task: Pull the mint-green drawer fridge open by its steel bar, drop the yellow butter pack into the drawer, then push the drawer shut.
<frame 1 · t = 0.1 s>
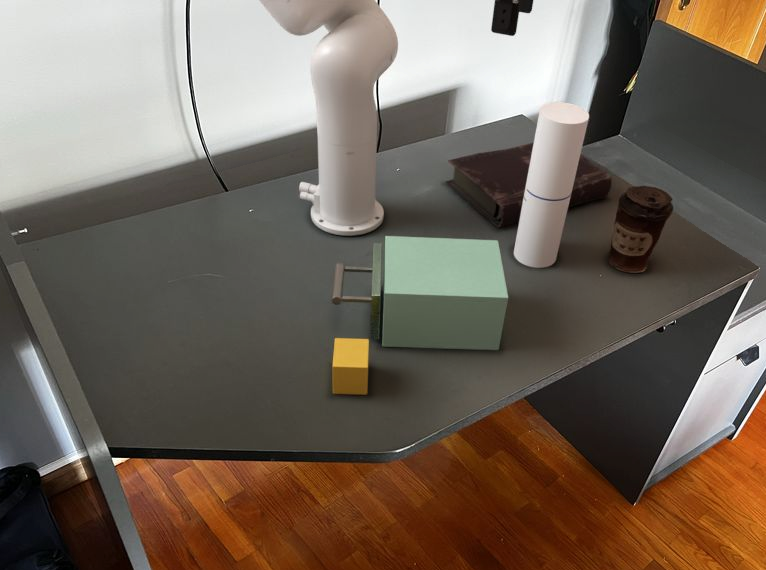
hand: (511, 22, 99), 37 cm above the table, tool pointing down, fingers open, 9 cm apart
fridge: (438, 317, 110), on the table
fridge drawer: (406, 291, 106), point 5 cm above the table, slide at 0.5 cm
diary: (525, 192, 139), on the table
cylindrical container: (534, 256, 124), on the table
coffee cup: (627, 264, 124), on the table
butter pack: (351, 379, 99), on the table
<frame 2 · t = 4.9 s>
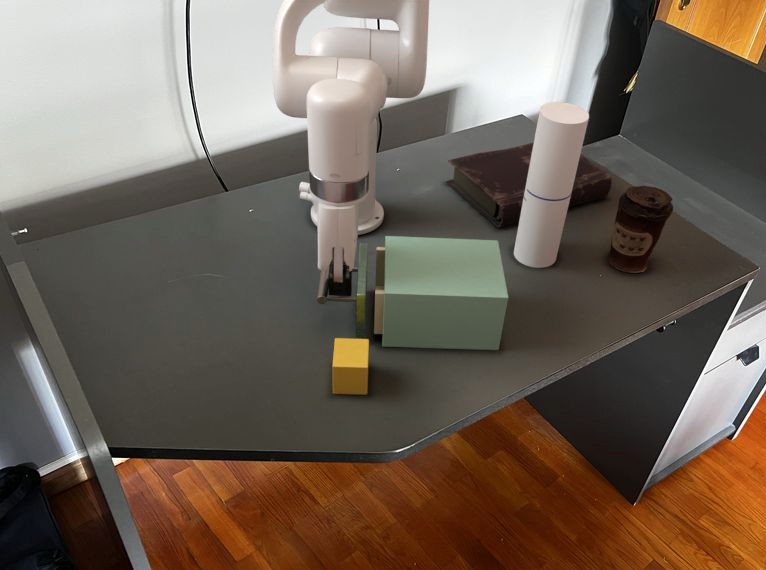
hand: (340, 295, 106), 4 cm above the table, tool pointing down, fingers closed
fridge drawer: (392, 290, 106), point 5 cm above the table, slide at 2.5 cm, touching gripper
everything else where it was.
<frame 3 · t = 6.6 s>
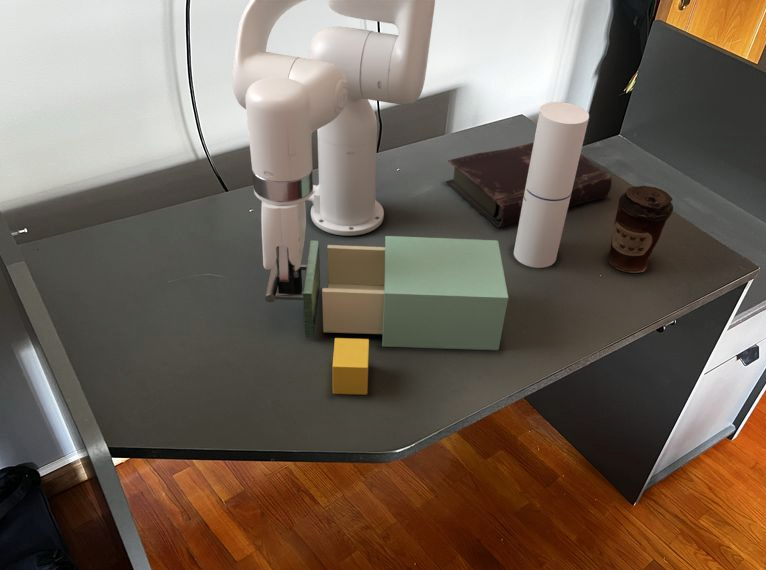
hand: (290, 294, 106), 4 cm above the table, tool pointing down, fingers closed
fridge drawer: (343, 288, 106), point 5 cm above the table, slide at 9.6 cm
everything else where it was.
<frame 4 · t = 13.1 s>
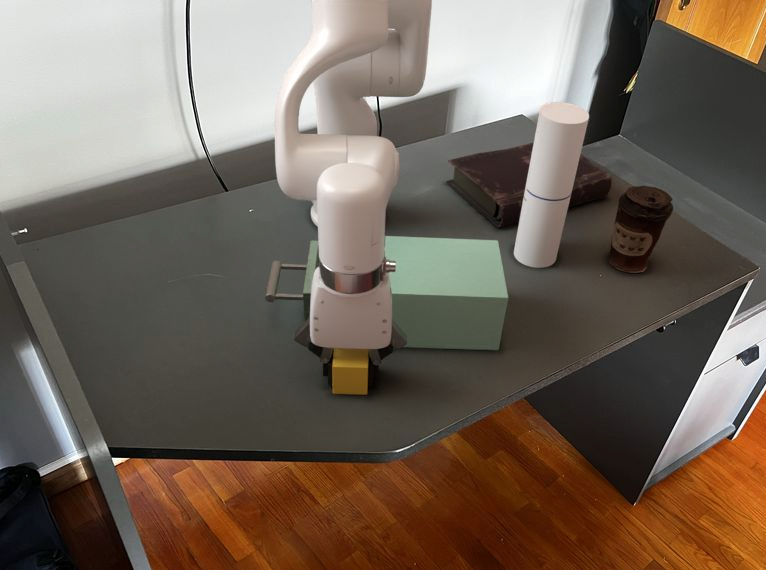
hand: (351, 377, 99), 0 cm above the table, tool pointing down, fingers closed on butter pack, 4 cm apart
butter pack: (351, 379, 99), on the table, touching gripper
everything else where it was.
when the fingers open (8 cm above the table, at t = 18.3 s): butter pack drops 6 cm, resting on fridge drawer.
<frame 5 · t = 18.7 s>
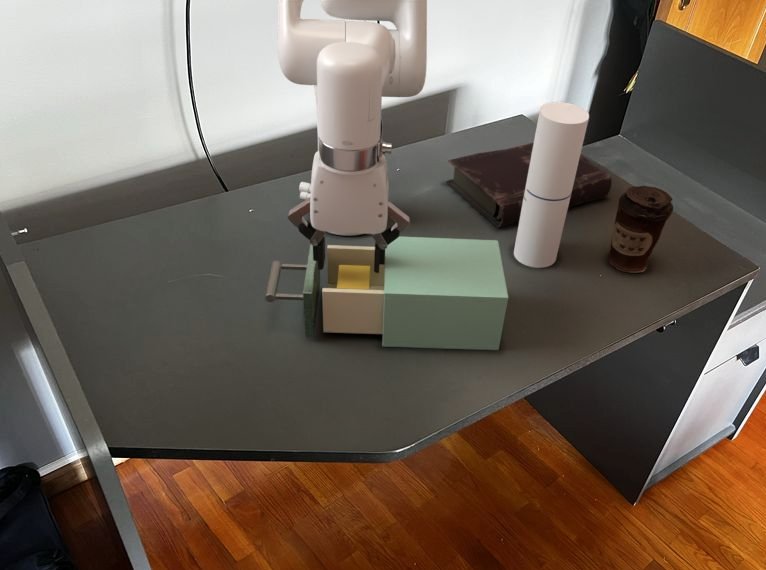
hand: (349, 264, 103), 9 cm above the table, tool pointing down, fingers open, 7 cm apart
fridge drawer: (343, 288, 106), point 5 cm above the table, slide at 9.6 cm, touching butter pack
butter pack: (353, 304, 108), point 2 cm above the table, touching fridge drawer
everything else where it was.
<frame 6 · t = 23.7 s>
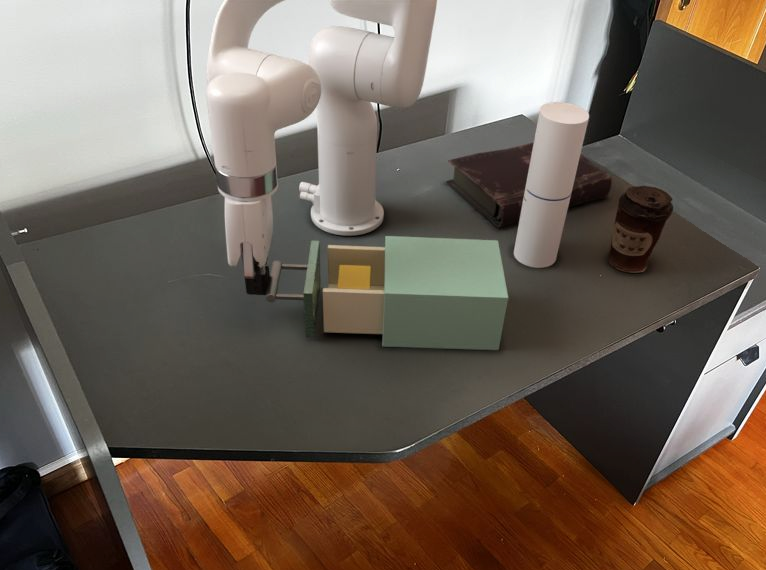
hand: (258, 291, 106), 4 cm above the table, tool pointing down, fingers closed
fridge drawer: (343, 288, 106), point 5 cm above the table, slide at 9.5 cm, touching butter pack, gripper
everything else where it was.
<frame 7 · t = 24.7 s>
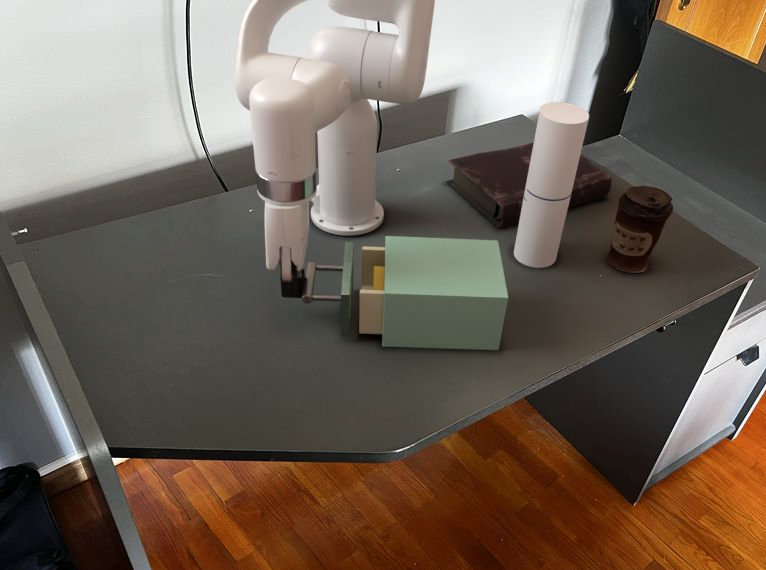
hand: (293, 294, 106), 4 cm above the table, tool pointing down, fingers closed
fridge drawer: (378, 290, 106), point 5 cm above the table, slide at 4.6 cm, touching butter pack, gripper
butter pack: (388, 305, 108), point 2 cm above the table, touching fridge drawer
everything else where it was.
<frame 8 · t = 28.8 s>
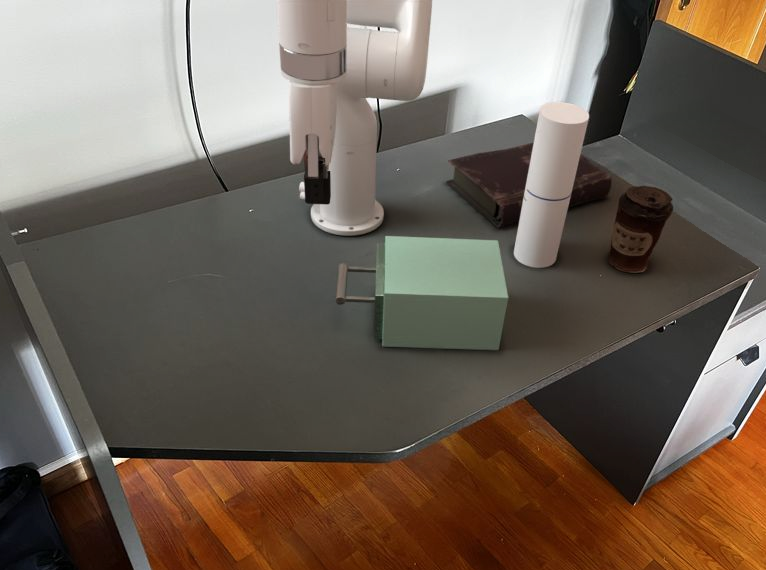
hand: (318, 200, 96), 19 cm above the table, tool pointing down, fingers closed
fridge drawer: (410, 291, 106), point 5 cm above the table, slide at 0.0 cm, touching butter pack
butter pack: (419, 306, 108), point 2 cm above the table, touching fridge drawer
everything else where it was.
at the end: fridge drawer pulled out 9.6 cm at the most during the clip, back to where it started at the end; butter pack inside the target area in the fridge (2.4 cm from its centre), point 2.0 cm above the fridge's base; fridge drawer slide at 0.0 cm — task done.
